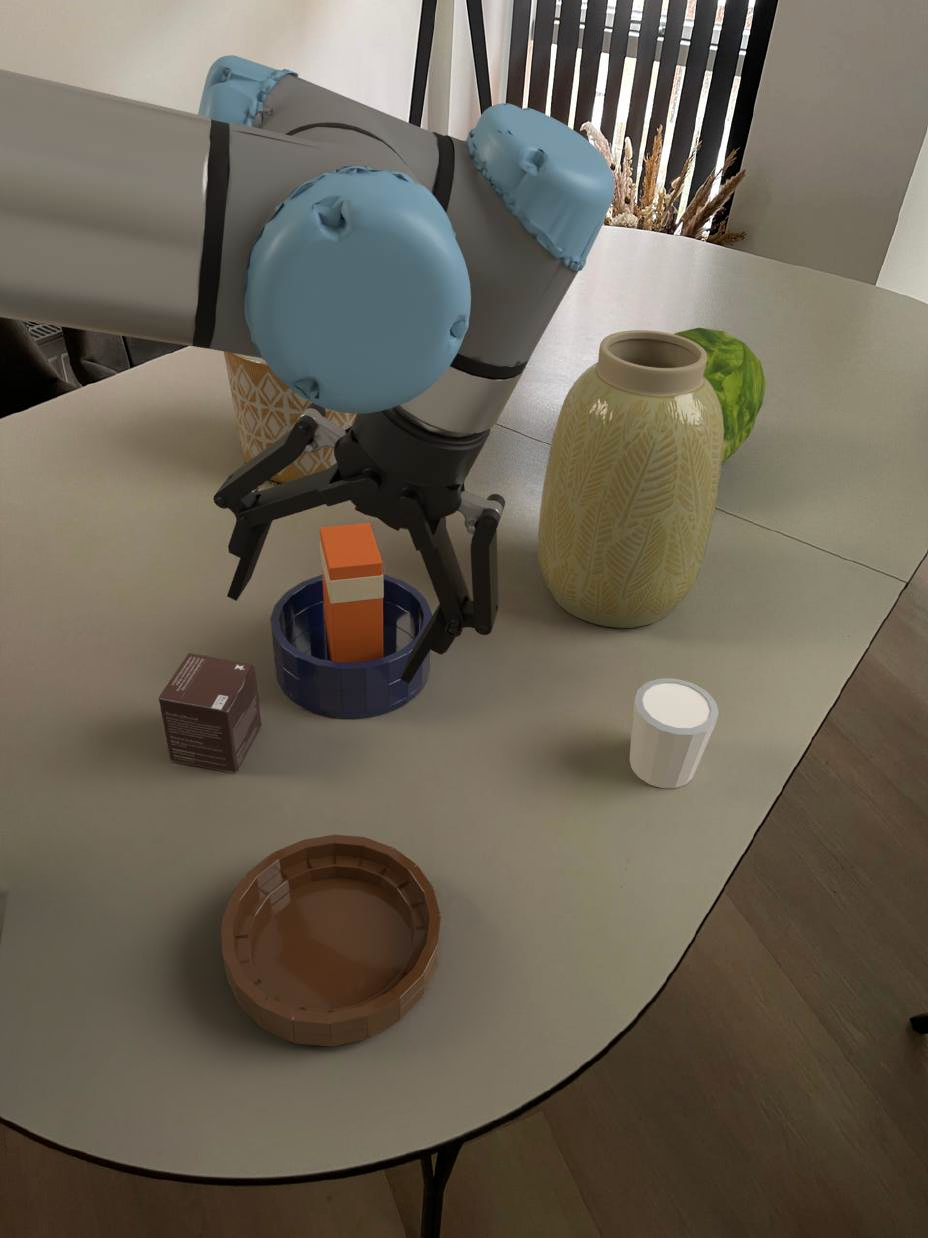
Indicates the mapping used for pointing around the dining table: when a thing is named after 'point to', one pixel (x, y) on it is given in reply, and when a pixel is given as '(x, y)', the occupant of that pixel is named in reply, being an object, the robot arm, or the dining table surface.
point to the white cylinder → (670, 731)
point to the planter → (273, 415)
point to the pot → (352, 683)
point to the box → (211, 712)
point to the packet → (352, 593)
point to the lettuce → (731, 383)
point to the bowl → (331, 939)
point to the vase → (631, 481)
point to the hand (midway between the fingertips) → (325, 628)
